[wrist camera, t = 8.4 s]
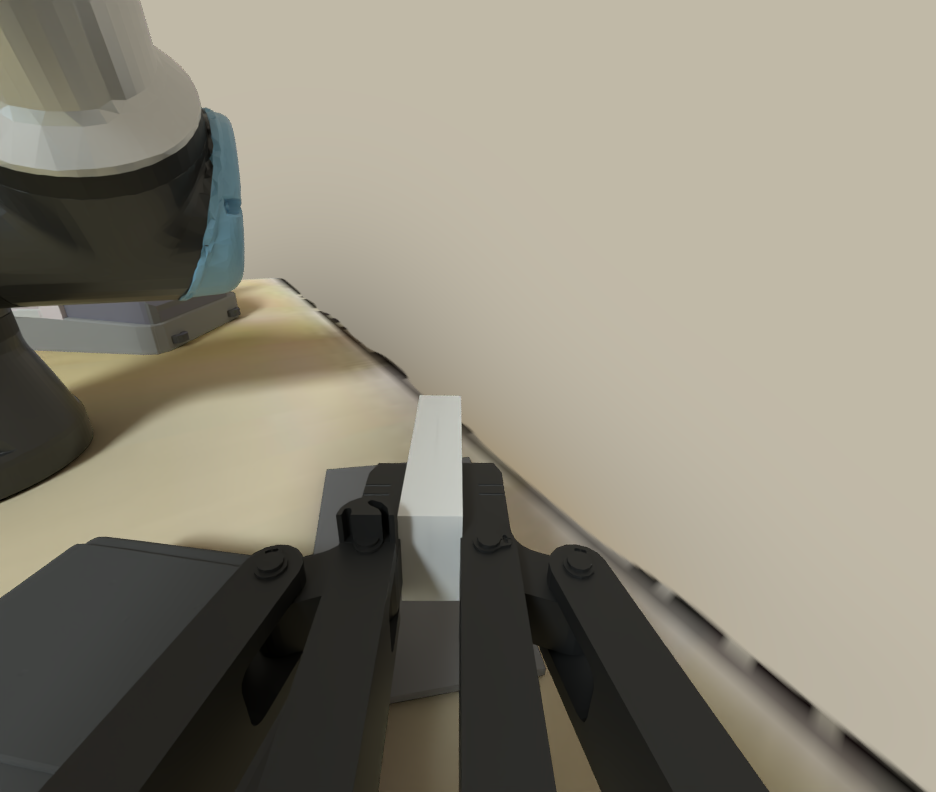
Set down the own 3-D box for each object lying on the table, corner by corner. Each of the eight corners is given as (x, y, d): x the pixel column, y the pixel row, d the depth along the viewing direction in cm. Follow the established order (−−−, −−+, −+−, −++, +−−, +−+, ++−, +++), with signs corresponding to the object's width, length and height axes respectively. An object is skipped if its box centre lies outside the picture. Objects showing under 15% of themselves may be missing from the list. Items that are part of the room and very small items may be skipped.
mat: (327, 474, 31) (326, 469, 31) (469, 461, 33) (469, 457, 32) (289, 722, 16) (287, 715, 16) (544, 674, 18) (545, 668, 18)
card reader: (405, 631, 19) (118, 588, 22) (396, 561, 18) (86, 524, 20) (289, 957, 11) (-143, 820, 14) (250, 882, 9) (-232, 745, 12)
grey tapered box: (147, 307, 71) (118, 205, 65) (263, 317, 67) (244, 210, 61) (-6, 348, 52) (-67, 210, 46) (143, 365, 49) (98, 218, 42)
